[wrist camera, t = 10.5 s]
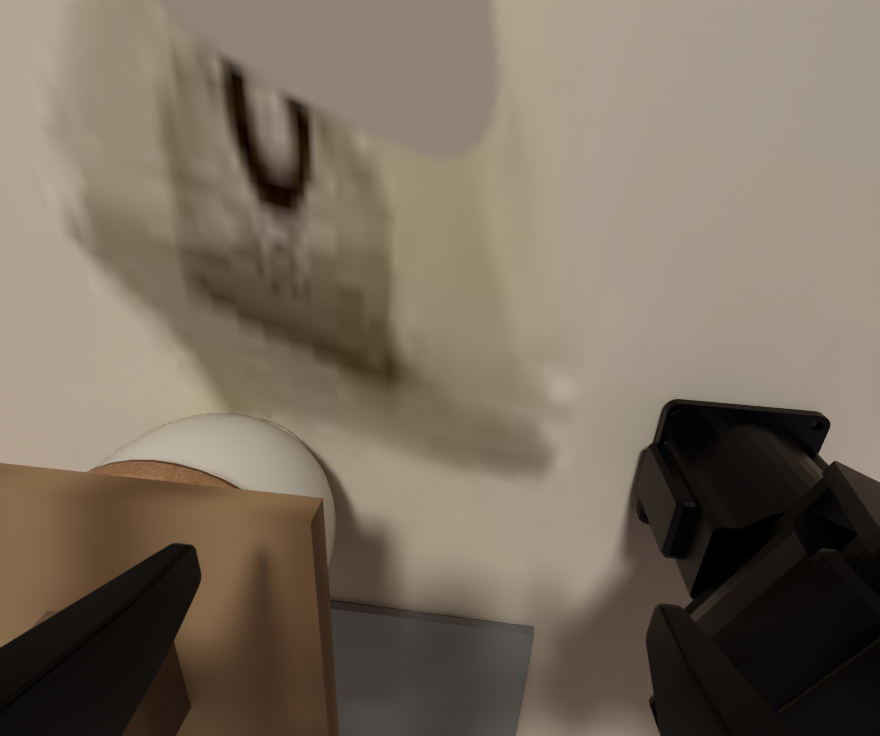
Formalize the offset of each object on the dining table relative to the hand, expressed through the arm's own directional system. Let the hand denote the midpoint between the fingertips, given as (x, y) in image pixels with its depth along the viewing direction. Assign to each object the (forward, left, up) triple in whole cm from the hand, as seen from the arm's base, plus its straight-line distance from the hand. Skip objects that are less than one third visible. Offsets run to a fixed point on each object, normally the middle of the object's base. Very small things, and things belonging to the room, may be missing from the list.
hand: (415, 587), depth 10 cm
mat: (+5, +24, -13) cm, 28 cm away
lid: (+10, +8, -4) cm, 13 cm away
